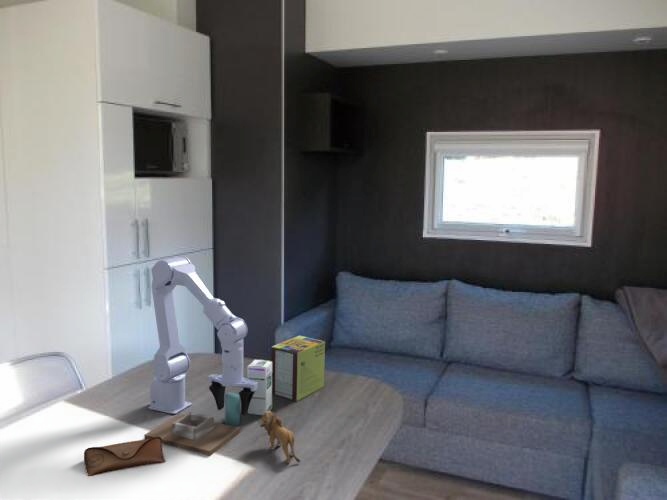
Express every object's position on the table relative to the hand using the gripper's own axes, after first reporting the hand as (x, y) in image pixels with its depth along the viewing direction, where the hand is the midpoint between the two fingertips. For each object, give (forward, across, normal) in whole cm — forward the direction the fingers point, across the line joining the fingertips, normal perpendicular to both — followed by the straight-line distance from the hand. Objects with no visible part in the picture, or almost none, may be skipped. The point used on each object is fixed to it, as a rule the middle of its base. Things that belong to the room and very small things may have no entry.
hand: (232, 411), depth 156 cm
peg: (+3, 0, 0) cm, 3 cm away
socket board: (+3, -5, -11) cm, 13 cm away
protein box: (+4, +6, +29) cm, 30 cm away
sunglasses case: (+4, -12, -28) cm, 31 cm away
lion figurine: (+4, +19, -9) cm, 22 cm away
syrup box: (+3, +3, +10) cm, 11 cm away
